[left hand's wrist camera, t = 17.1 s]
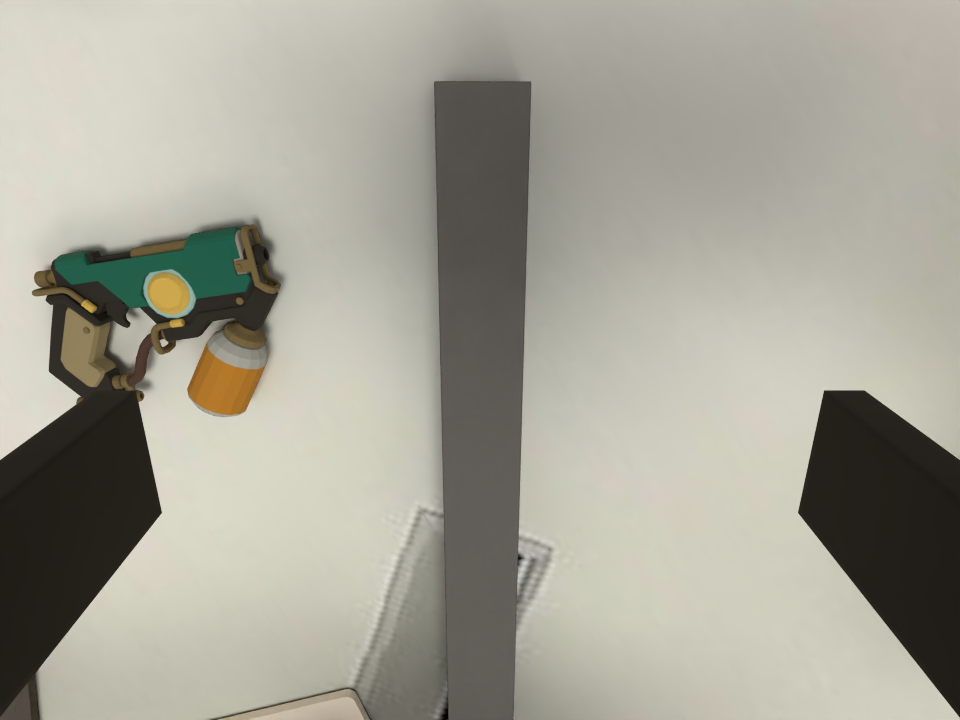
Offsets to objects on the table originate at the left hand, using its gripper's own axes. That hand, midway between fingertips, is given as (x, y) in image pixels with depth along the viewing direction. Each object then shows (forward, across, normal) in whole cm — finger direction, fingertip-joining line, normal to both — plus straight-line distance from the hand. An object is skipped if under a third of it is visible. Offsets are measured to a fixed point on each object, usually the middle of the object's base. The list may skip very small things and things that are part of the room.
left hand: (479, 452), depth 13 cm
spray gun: (+33, -22, -7) cm, 41 cm away
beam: (+33, 0, -20) cm, 39 cm away
